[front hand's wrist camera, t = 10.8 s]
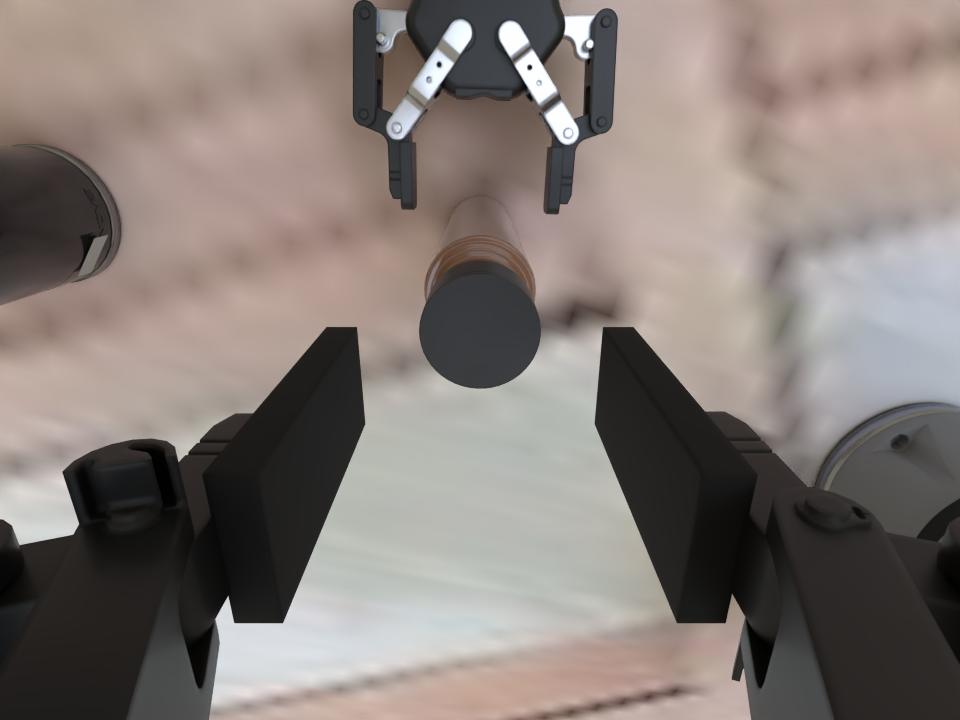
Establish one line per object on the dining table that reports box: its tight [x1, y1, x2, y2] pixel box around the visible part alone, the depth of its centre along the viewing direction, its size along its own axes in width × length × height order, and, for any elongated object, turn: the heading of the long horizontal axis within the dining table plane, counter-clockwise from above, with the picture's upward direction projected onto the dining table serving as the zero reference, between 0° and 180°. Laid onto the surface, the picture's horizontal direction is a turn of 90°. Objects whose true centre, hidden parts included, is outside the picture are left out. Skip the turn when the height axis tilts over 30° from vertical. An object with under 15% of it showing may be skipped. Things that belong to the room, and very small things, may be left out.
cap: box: [419, 260, 541, 389], centre depth 18 cm, size 4×4×2 cm
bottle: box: [424, 196, 536, 301], centre depth 28 cm, size 4×4×23 cm
